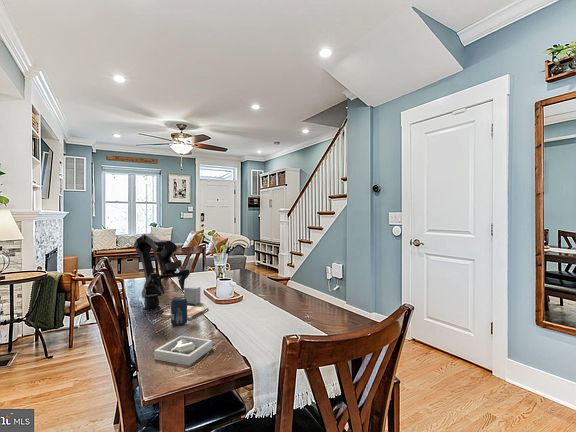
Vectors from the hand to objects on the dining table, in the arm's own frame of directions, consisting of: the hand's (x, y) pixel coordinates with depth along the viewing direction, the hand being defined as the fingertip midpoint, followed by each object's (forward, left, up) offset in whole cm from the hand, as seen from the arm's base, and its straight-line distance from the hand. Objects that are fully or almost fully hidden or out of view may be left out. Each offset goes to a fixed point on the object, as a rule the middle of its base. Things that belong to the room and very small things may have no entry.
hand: (173, 292), depth 146 cm
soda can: (+5, -3, -14) cm, 15 cm away
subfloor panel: (-2, +12, -14) cm, 18 cm away
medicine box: (-10, +29, -14) cm, 34 cm away
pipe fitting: (+25, -27, -14) cm, 39 cm away
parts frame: (+26, -27, -14) cm, 39 cm away
